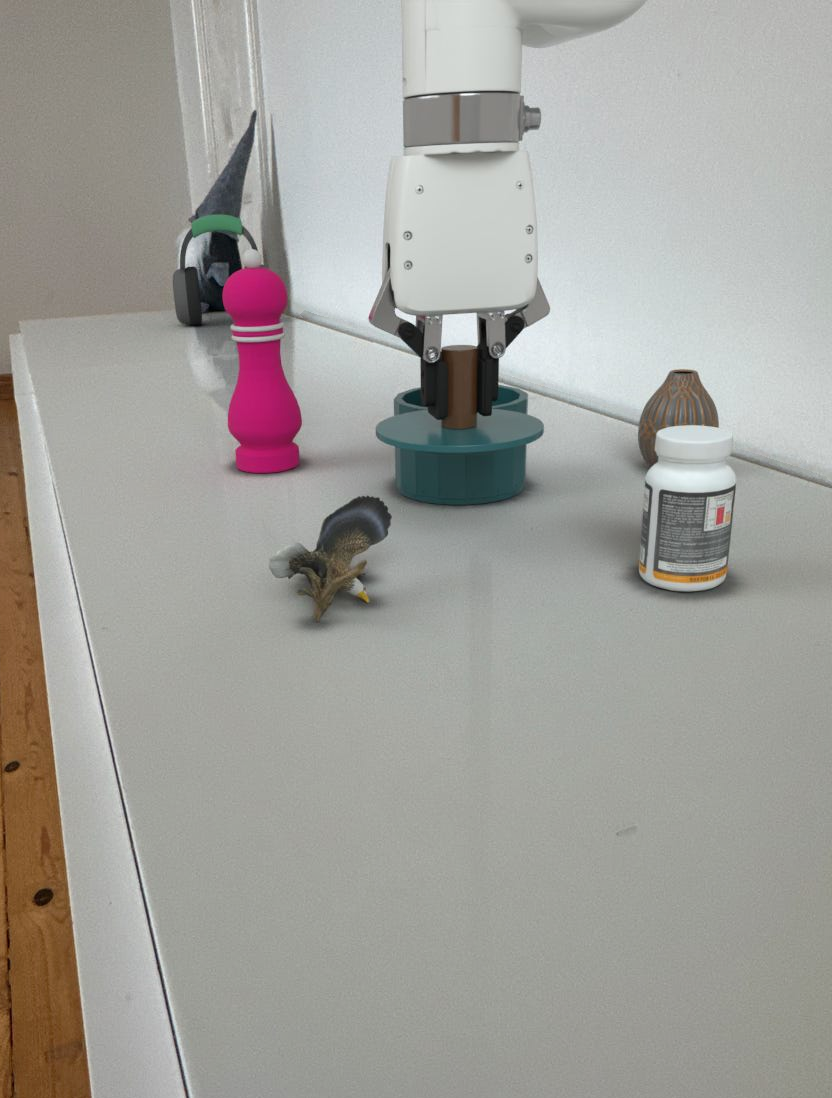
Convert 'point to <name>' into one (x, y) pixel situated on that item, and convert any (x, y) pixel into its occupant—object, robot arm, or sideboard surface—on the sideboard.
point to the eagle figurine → (336, 552)
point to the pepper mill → (260, 371)
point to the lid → (460, 417)
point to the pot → (461, 462)
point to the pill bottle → (688, 509)
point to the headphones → (188, 277)
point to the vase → (675, 409)
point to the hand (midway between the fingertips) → (459, 411)
